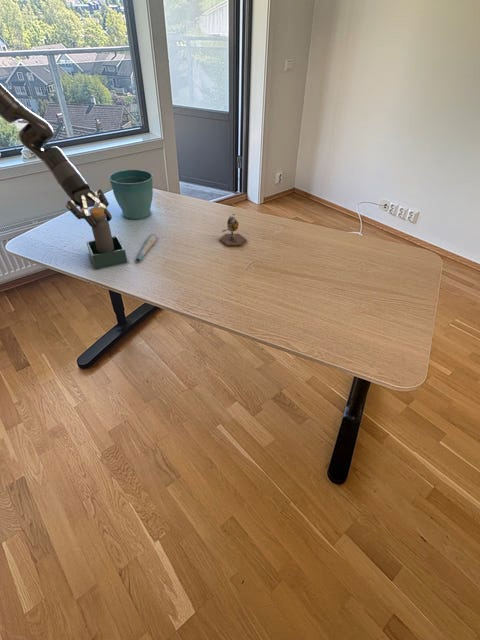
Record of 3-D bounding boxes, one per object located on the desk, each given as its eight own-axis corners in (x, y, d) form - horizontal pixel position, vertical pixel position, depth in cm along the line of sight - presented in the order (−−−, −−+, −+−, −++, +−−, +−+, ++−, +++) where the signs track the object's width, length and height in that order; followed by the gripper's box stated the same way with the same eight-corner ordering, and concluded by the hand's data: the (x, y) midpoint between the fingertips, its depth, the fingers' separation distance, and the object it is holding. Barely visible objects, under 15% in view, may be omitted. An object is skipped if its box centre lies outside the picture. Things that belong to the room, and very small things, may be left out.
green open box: (95, 269, 122) (92, 256, 119) (89, 255, 130) (86, 241, 126) (127, 263, 127) (124, 249, 123) (120, 249, 134) (117, 235, 130)
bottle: (111, 253, 123) (102, 214, 113) (95, 253, 123) (84, 213, 113) (116, 245, 128) (108, 206, 118) (100, 245, 128) (90, 205, 118)
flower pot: (116, 207, 162) (109, 169, 151) (155, 205, 166) (151, 168, 155) (115, 224, 149) (107, 184, 138) (158, 221, 153) (153, 182, 142)
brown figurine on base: (229, 232, 148) (229, 205, 140) (248, 238, 145) (250, 210, 137) (216, 243, 140) (216, 215, 132) (237, 249, 138) (238, 221, 130)
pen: (150, 238, 141) (149, 232, 139) (157, 239, 141) (157, 232, 139) (133, 263, 127) (132, 256, 125) (141, 264, 126) (140, 257, 125)
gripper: (53, 179, 107) (89, 225, 110) (91, 167, 116) (123, 210, 120) (48, 192, 112) (82, 236, 116) (84, 180, 122) (115, 221, 125)
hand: (102, 223), depth 118 cm, fingers closed on bottle, 5 cm apart
